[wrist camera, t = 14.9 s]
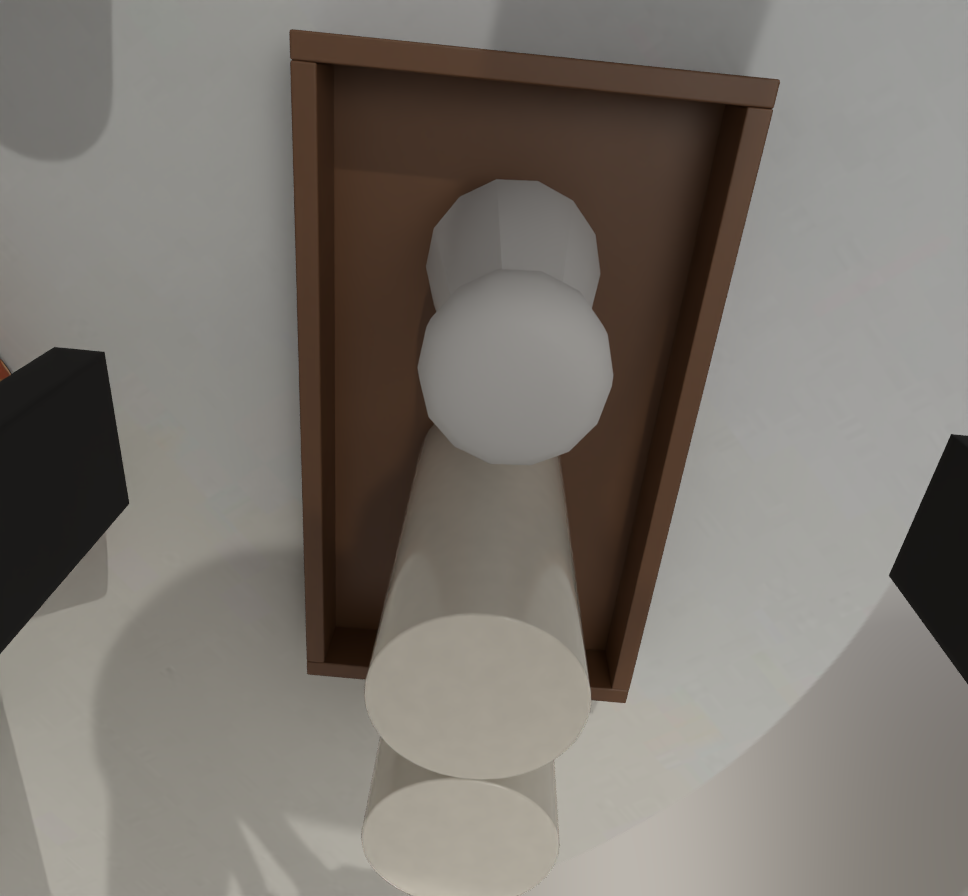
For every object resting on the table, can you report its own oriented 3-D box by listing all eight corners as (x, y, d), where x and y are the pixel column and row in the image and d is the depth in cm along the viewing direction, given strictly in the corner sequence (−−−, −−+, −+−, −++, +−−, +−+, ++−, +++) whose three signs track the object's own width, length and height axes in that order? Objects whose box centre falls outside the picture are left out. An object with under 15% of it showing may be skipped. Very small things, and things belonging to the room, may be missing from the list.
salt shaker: (518, 359, 29) (523, 555, 17) (402, 262, 27) (320, 407, 16) (626, 243, 26) (714, 379, 15) (506, 131, 25) (502, 187, 13)
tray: (313, 33, 24) (288, 29, 22) (751, 78, 24) (781, 79, 22) (322, 628, 36) (306, 674, 33) (617, 655, 36) (625, 703, 34)
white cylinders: (422, 393, 29) (365, 603, 18) (570, 408, 30) (609, 626, 18) (409, 624, 35) (359, 898, 23) (534, 635, 35) (545, 914, 24)
